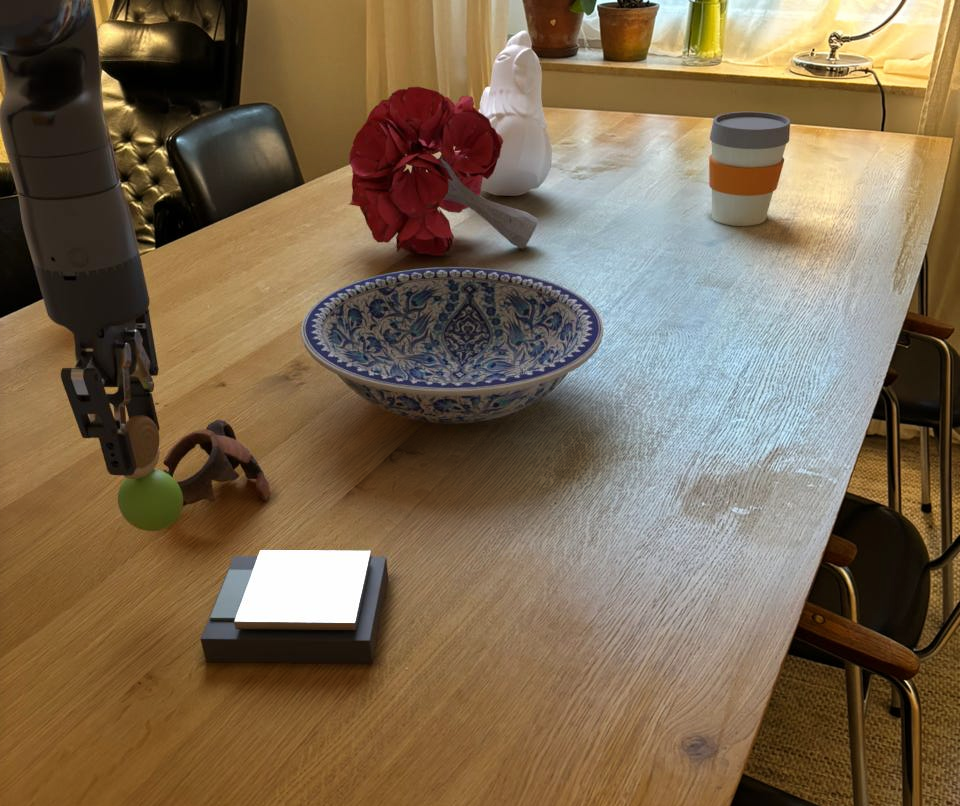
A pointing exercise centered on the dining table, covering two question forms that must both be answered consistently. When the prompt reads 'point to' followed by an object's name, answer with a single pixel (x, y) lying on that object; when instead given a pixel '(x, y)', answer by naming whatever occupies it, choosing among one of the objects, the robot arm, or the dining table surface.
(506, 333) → the ceramic bowl
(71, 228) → the robot arm
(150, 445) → the snail figurine
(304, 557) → the scale platter
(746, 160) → the reusable coffee cup
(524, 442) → the dining table surface
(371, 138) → the bouquet
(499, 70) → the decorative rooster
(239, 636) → the scale
